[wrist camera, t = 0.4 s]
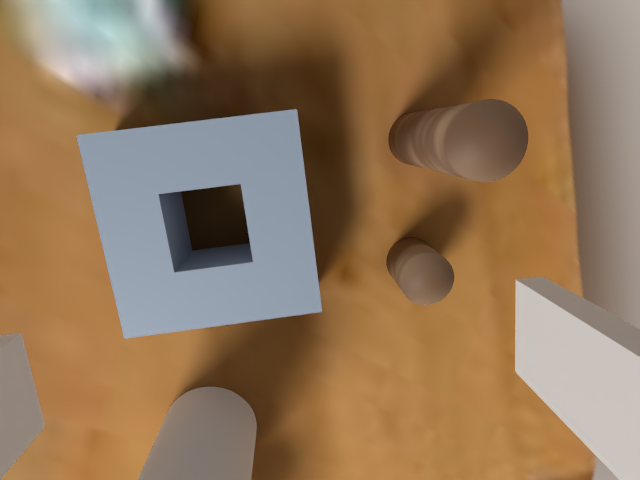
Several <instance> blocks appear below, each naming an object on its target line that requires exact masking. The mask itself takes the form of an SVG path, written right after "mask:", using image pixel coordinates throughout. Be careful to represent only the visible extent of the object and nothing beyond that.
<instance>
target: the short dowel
mask: <svg viewBox="0 0 640 480" xmlns="http://www.w3.org/2000/svg"><path fill="white" fill-rule="evenodd" d="M386 262H387V269H388V271H389V273H390V275H391V276H392V277H393V279H394V280H395V282H396V283H397V284H398V286H399V287H400V289H401V290H402V291H403V293H404V294H405V296H406V297H407V298H408V299H409V300H411V301H412V302H414V303H417V304H421V305H430V304H434V303H437V302H439V301H440V300H442V299H443V298H445V297H446V296H447V294H448V293H449V292H450V290H451V288H452V286H453V282H454V272H453V269H452V266H451V265H450V263H449V262H448V261H447V260H446V259H445V258H444V257H443V256H441V255H440V254H439V253H438V252H437V251H435V250H434V249H433V248H432V247H430V246H429V245H428V244H427V243H425V242H424V241H422V240H420V239H417V238H405V239H402V240H400V241H398V242H397V243H396V244H394V245H393V246H392V248H391V249H390V251H389V253H388V255H387V261H386Z"/></svg>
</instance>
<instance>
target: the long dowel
mask: <svg viewBox="0 0 640 480" xmlns="http://www.w3.org/2000/svg"><path fill="white" fill-rule="evenodd" d="M527 144H528V130H527V126H526V123H525V120H524V118H523V116H522V115H521V114H520V112H519V111H518V110H517V109H516V108H515V107H513V106H512V105H510V104H509V103H507V102H504V101H501V100H495V99H488V100H482V101H476V102H470V103H465V104H459V105H453V106H447V107H442V108H436V109H430V110H424V111H419V112H413V113H408V114H405V115H403V116H401V117H400V118H399V119H397V120H396V121H395V123H394V124H393V126H392V127H391V130H390V133H389V146H390V149H391V152H392V153H393V155H394V156H395V157H396V158H397V159H398V160H400V161H401V162H403V163H406V164H410V165H414V166H418V167H422V168H426V169H430V170H434V171H438V172H442V173H446V174H450V175H454V176H458V177H462V178H466V179H470V180H474V181H478V182H492V181H496V180H499V179H502V178H504V177H505V176H507V175H509V174H510V173H511V172H512V171H514V169H515V168H516V167H517V166H518V165H519V164H520V162H521V160H522V159H523V157H524V155H525V152H526V149H527Z"/></svg>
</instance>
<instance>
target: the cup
mask: <svg viewBox="0 0 640 480" xmlns="http://www.w3.org/2000/svg"><path fill="white" fill-rule="evenodd" d="M256 432H257V422H256V417H255V414H254V412H253V410H252V408H251V407H250V405H249V404H248V403H247V402H246V401H245V400H244V399H243V398H242V397H241V396H240V395H238V394H236V393H235V392H233V391H230V390H228V389H225V388H220V387H200V388H196V389H193V390H190V391H188V392H186V393H184V394H183V395H181V396H180V397H179V398H178V399H176V400H175V402H174V403H173V404H172V405H171V407H170V408H169V410H168V412H167V414H166V417H165V419H164V421H163V424H162V426H161V428H160V430H159V433H158V435H157V437H156V440H155V442H154V444H153V446H152V449H151V451H150V453H149V456H148V458H147V460H146V462H145V465H144V467H143V469H142V471H141V474H140V476H139V478H138V480H251V477H252V468H253V459H254V450H255V441H256Z"/></svg>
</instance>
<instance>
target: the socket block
mask: <svg viewBox="0 0 640 480" xmlns="http://www.w3.org/2000/svg"><path fill="white" fill-rule="evenodd" d="M76 136H77V140H78V144H79V149H80V153H81V157H82V161H83V166H84V170H85V174H86V178H87V183H88V187H89V191H90V195H91V199H92V204H93V208H94V212H95V216H96V221H97V225H98V229H99V233H100V238H101V242H102V246H103V250H104V254H105V259H106V263H107V267H108V271H109V276H110V280H111V284H112V288H113V293H114V297H115V301H116V305H117V309H118V314H119V318H120V322H121V326H122V331H123V335H124V339H126V338H133V337H141V336H148V335H155V334H163V333H170V332H177V331H185V330H192V329H200V328H207V327H214V326H222V325H229V324H237V323H244V322H251V321H259V320H266V319H273V318H281V317H288V316H296V315H303V314H310V313H318V312H322V306H321V298H320V290H319V282H318V274H317V266H316V258H315V250H314V242H313V234H312V225H311V217H310V209H309V201H308V193H307V185H306V177H305V169H304V161H303V153H302V145H301V137H300V129H299V121H298V113H297V109H293V110H284V111H276V112H268V113H259V114H251V115H242V116H234V117H226V118H217V119H209V120H200V121H192V122H183V123H175V124H167V125H158V126H150V127H141V128H133V129H125V130H116V131H108V132H99V133H91V134H82V135H76ZM237 184H241V189H242V196H243V202H244V208H245V215H246V221H247V227H248V234H249V240H250V243H247V244H240V245H232V246H224V247H216V248H209V249H201V250H193V251H192V246H191V241H190V235H189V230H188V225H187V220H186V214H185V209H184V204H183V198H182V193H181V191H188V190H196V189H205V188H213V187H221V186H229V185H237Z"/></svg>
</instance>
